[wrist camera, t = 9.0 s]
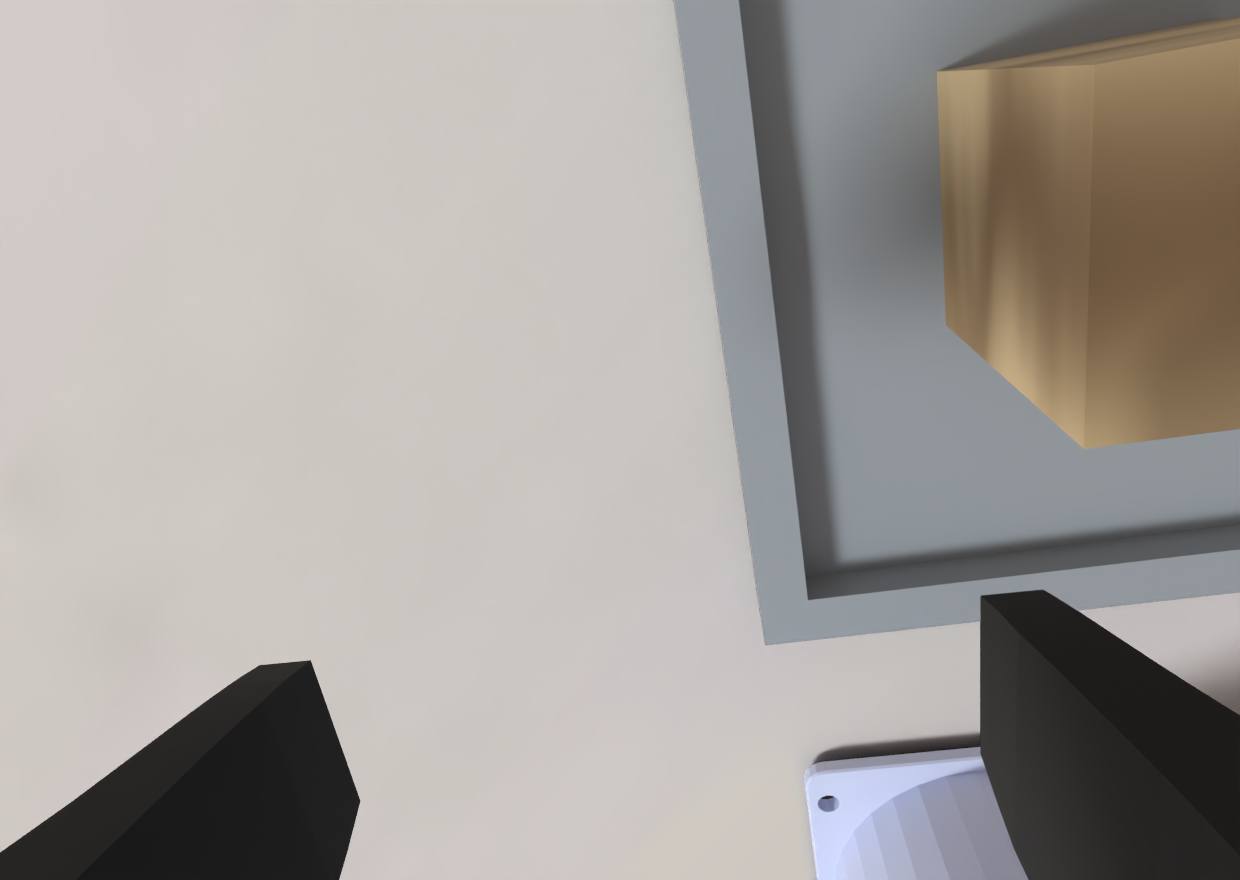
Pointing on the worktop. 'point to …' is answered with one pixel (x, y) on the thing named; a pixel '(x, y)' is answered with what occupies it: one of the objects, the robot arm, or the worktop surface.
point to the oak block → (1101, 229)
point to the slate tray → (908, 335)
